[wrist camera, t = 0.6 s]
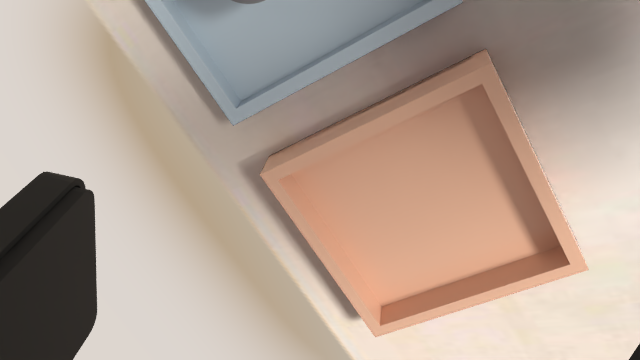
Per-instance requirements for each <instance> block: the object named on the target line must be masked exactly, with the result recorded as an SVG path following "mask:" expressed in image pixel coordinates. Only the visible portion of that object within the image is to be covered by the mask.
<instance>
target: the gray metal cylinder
mask: <svg viewBox="0 0 640 360" xmlns="http://www.w3.org/2000/svg"><path fill="white" fill-rule="evenodd" d="M232 1H234V2H237V3H242V4H255V3H260V2H262V1H265V0H232Z"/></svg>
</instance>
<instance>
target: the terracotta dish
mask: <svg viewBox="0 0 640 360" xmlns="http://www.w3.org/2000/svg"><path fill="white" fill-rule="evenodd" d="M260 176H261V177H262V179H263V180H264V181H265V183H266V184H267V186H268V187H269V188H270V190H271V191H272V193H273V194H274V195H275V197H276V198H277V200H278V201H279V203H280V204H281V205H282V207H283V208H284V210H285V211H286V212H287V214H288V215H289V217H290V218H291V219H292V221H293V222H294V224H295V225H296V226H297V228H298V229H299V231H300V232H301V233H302V235H303V236H304V238H305V239H306V240H307V242H308V243H309V245H310V246H311V248H312V249H313V250H314V252H315V253H316V255H317V256H318V257H319V259H320V260H321V262H322V263H323V264H324V266H325V267H326V269H327V270H328V271H329V273H330V274H331V276H332V277H333V278H334V280H335V281H336V283H337V284H338V286H339V287H340V288H341V290H342V291H343V293H344V294H345V295H346V297H347V298H348V300H349V301H350V302H351V304H352V305H353V307H354V308H355V309H356V311H357V312H358V314H359V315H360V316H361V318H362V319H363V321H364V322H365V324H366V325H367V326H368V328H369V329H370V331H371V332H372V333H373V335H374V336H375V337H378V336H381V335H384V334H387V333H390V332H394V331H397V330H400V329H403V328H406V327H409V326H412V325H416V324H419V323H422V322H425V321H428V320H431V319H435V318H438V317H441V316H444V315H447V314H450V313H454V312H457V311H460V310H463V309H466V308H469V307H473V306H476V305H479V304H482V303H485V302H488V301H491V300H495V299H498V298H501V297H504V296H507V295H510V294H514V293H517V292H520V291H523V290H526V289H529V288H533V287H536V286H539V285H542V284H545V283H548V282H552V281H555V280H558V279H561V278H564V277H567V276H570V275H574V274H577V273H580V272H583V271H586V270H589V269H588V267H587V264H586V262H585V260H584V257H583V255H582V252H581V250H580V247H579V245H578V243H577V241H576V239H575V237H574V234H573V232H572V230H571V228H570V226H569V224H568V222H567V220H566V218H565V215H564V213H563V211H562V209H561V207H560V205H559V203H558V201H557V198H556V196H555V194H554V192H553V190H552V188H551V186H550V184H549V181H548V179H547V177H546V175H545V173H544V171H543V169H542V167H541V164H540V162H539V160H538V158H537V156H536V154H535V152H534V150H533V148H532V145H531V143H530V141H529V139H528V137H527V135H526V133H525V131H524V128H523V126H522V124H521V122H520V120H519V118H518V116H517V114H516V111H515V109H514V107H513V105H512V103H511V101H510V99H509V97H508V94H507V92H506V90H505V88H504V86H503V84H502V82H501V80H500V78H499V75H498V73H497V71H496V69H495V67H494V65H493V63H492V61H491V58H490V56H489V54H488V52H487V50H486V49H484V50H482V51H480V52H478V53H476V54H474V55H472V56H470V57H468V58H466V59H464V60H462V61H460V62H458V63H456V64H454V65H452V66H450V67H448V68H446V69H444V70H442V71H440V72H438V73H436V74H434V75H432V76H430V77H428V78H426V79H424V80H422V81H420V82H418V83H416V84H414V85H412V86H410V87H408V88H406V89H404V90H402V91H400V92H398V93H396V94H394V95H392V96H390V97H388V98H386V99H384V100H382V101H380V102H378V103H376V104H374V105H372V106H370V107H368V108H366V109H363V110H361V111H359V112H357V113H355V114H353V115H351V116H349V117H347V118H345V119H343V120H341V121H339V122H337V123H335V124H333V125H331V126H329V127H327V128H325V129H323V130H321V131H319V132H317V133H315V134H313V135H311V136H309V137H307V138H305V139H303V140H301V141H299V142H297V143H295V144H293V145H291V146H289V147H287V148H285V149H283V150H281V151H279V152H277V153H275V154H273V155H271V156H269V157H268V159H267V161H266V163H265V165H264V168H263V170H262V172H261V174H260Z"/></svg>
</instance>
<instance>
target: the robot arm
mask: <svg viewBox="0 0 640 360" xmlns="http://www.w3.org/2000/svg"><path fill="white" fill-rule="evenodd" d="M95 248H96V247H95V205H94V194H93V192H92V191H91V190H87V189H85V185H84V182H83V181H82V180H81V179H79V178H74V177H69V176H65V175H60V174H55V173H51V172H43V173H41V174H40V175H38V176H37V177H36V178H35V179H34V180H32V181H31V182H30V183H29V184H28V185H27V186H26V187H25V188H23V189H22V190H21V191H20V192H19V193H17V194H16V195H15V196H14V197H13V198H12V199H11V200H9V201H8V202H7V203H6V204H5V205H4V206H3V207H1V208H0V360H73V358H74V357H75V355H76V353H77V352H78V351H79V349H80V348H81V346H82V345H83V343H84V341H85V340H86V338H87V337H88V335H89V334H90V332H91V330H92V328H93V326H94V323H95V320H96V315H97V291H96V290H97V289H96V249H95ZM629 360H640V344H639V345H638V347H637V348H636V350H635V351H634V353H633V354H632V356H631V357H630V359H629Z"/></svg>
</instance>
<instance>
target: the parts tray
mask: <svg viewBox="0 0 640 360" xmlns="http://www.w3.org/2000/svg"><path fill="white" fill-rule="evenodd" d="M145 2H146V3H147V4H148V6H149V7H150V9H151V10H152V11H153V13H154V14H155V16H156V17H157V19H158V20H159V21H160V23H161V24H162V26H163V27H164V28H165V30H166V31H167V33H168V34H169V36H170V37H171V38H172V40H173V41H174V43H175V44H176V46H177V47H178V48H179V50H180V51H181V53H182V54H183V55H184V57H185V58H186V60H187V61H188V63H189V64H190V65H191V67H192V68H193V70H194V71H195V73H196V74H197V75H198V77H199V78H200V80H201V81H202V82H203V84H204V85H205V87H206V88H207V90H208V91H209V92H210V94H211V95H212V97H213V98H214V99H215V101H216V102H217V104H218V105H219V107H220V108H221V109H222V111H223V112H224V114H225V115H226V117H227V118H228V119H229V121H230V122H231V124H232V125H233V126H234V125H235V124H237V123H239V122H241V121H243V120H245V119H247V118H248V117H250V116H252V115H254V114H256V113H258V112H260V111H261V110H263V109H265V108H267V107H269V106H271V105H273V104H275V103H276V102H278V101H280V100H282V99H284V98H286V97H288V96H289V95H291V94H293V93H295V92H297V91H299V90H301V89H302V88H304V87H306V86H308V85H310V84H312V83H314V82H315V81H317V80H319V79H321V78H323V77H325V76H327V75H328V74H330V73H332V72H334V71H336V70H338V69H340V68H341V67H343V66H345V65H347V64H349V63H351V62H353V61H355V60H356V59H358V58H360V57H362V56H364V55H366V54H368V53H369V52H371V51H373V50H375V49H377V48H379V47H381V46H382V45H384V44H386V43H388V42H390V41H392V40H394V39H395V38H397V37H399V36H401V35H403V34H405V33H407V32H408V31H410V30H412V29H414V28H416V27H418V26H420V25H421V24H423V23H425V22H427V21H429V20H431V19H433V18H434V17H436V16H438V15H440V14H442V13H444V12H446V11H448V10H449V9H451V8H453V7H455V6H457V5H459V4H461V3H462V2H463V1H462V0H265V1H262V2H260V3H255V4H242V3H237V2H234V1H232V0H145Z"/></svg>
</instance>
